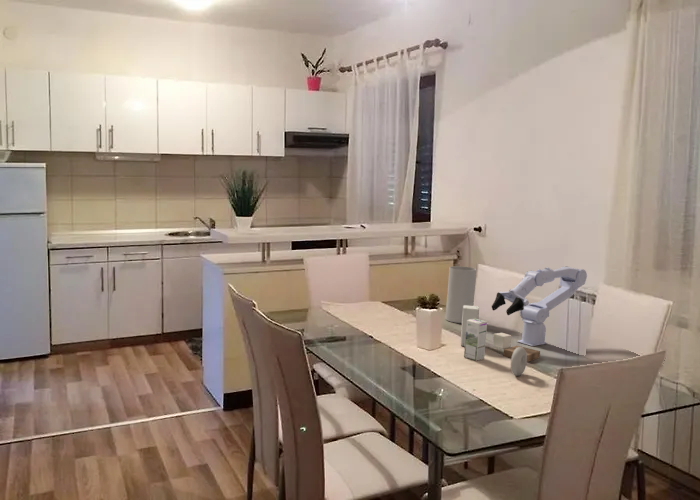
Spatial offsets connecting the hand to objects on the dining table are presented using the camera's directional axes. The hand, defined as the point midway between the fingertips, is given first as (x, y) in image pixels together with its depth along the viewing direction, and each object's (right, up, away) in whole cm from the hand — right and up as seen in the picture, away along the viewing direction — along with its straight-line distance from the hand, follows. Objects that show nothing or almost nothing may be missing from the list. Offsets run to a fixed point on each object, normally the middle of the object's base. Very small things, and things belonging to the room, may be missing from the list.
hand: (499, 310), depth 262 cm
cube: (+2, -15, +5) cm, 16 cm away
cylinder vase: (-8, -9, +48) cm, 50 cm away
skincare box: (-12, -14, +5) cm, 19 cm away
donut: (-1, -20, -33) cm, 39 cm away
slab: (+6, -17, -9) cm, 20 cm away
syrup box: (-13, -17, -15) cm, 26 cm away
